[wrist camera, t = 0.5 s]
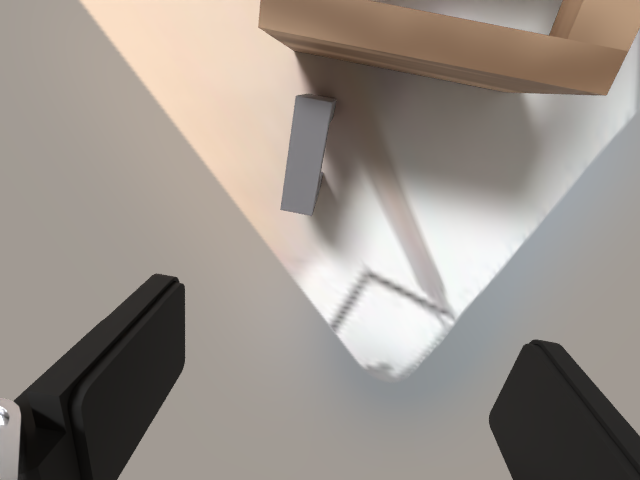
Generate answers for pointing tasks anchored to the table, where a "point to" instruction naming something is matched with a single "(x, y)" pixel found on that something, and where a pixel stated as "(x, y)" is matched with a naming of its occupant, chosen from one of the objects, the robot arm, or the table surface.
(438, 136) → the table surface
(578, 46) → the stand
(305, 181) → the grey piece
